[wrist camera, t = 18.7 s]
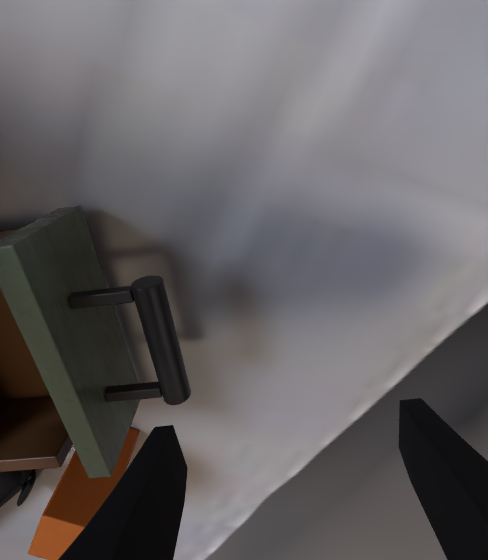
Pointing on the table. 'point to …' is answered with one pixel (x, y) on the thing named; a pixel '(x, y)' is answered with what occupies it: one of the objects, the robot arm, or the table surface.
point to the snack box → (76, 503)
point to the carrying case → (16, 485)
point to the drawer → (73, 349)
